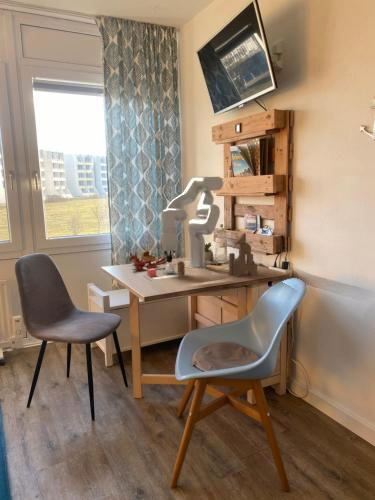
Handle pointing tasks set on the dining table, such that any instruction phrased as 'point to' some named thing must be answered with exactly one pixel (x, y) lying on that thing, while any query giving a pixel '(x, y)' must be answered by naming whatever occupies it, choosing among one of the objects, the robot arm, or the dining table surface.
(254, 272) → the wooden toy
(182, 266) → the brown rounded capsule
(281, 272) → the dining table surface
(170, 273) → the board
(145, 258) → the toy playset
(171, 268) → the dome
